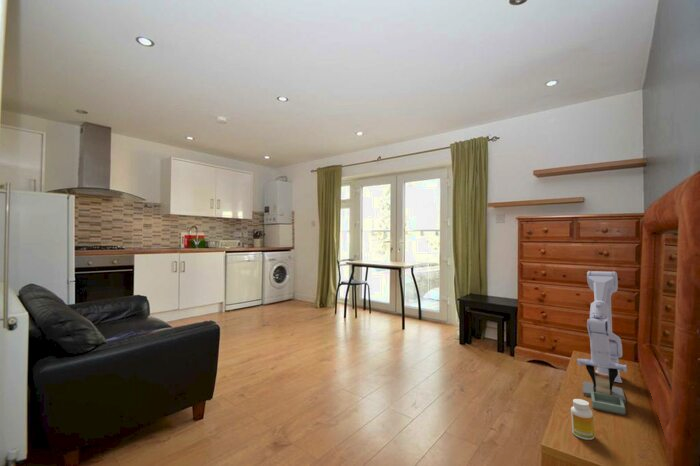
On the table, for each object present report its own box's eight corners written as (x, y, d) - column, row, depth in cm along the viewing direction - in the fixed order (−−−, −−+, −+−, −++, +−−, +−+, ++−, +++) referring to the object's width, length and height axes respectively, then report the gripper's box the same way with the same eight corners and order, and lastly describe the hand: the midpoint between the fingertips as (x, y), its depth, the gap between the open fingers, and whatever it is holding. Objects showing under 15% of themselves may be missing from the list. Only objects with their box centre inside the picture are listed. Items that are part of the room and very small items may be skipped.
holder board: (582, 384, 127) (582, 381, 127) (621, 391, 120) (621, 387, 121) (583, 395, 118) (583, 392, 118) (626, 403, 112) (625, 400, 112)
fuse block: (595, 390, 122) (594, 372, 122) (609, 393, 119) (608, 374, 120) (596, 394, 118) (595, 375, 119) (610, 397, 116) (609, 378, 116)
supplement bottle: (598, 441, 92) (596, 406, 92) (577, 439, 93) (575, 405, 93) (588, 430, 97) (586, 398, 97) (568, 429, 98) (566, 396, 98)
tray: (591, 398, 116) (590, 391, 116) (622, 404, 111) (621, 396, 111) (592, 408, 109) (592, 401, 109) (625, 415, 104) (625, 407, 104)
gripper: (576, 350, 120) (579, 387, 120) (627, 357, 112) (629, 396, 112) (576, 345, 126) (578, 380, 126) (624, 351, 118) (626, 388, 117)
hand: (602, 387), depth 119 cm, fingers closed on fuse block, 4 cm apart
